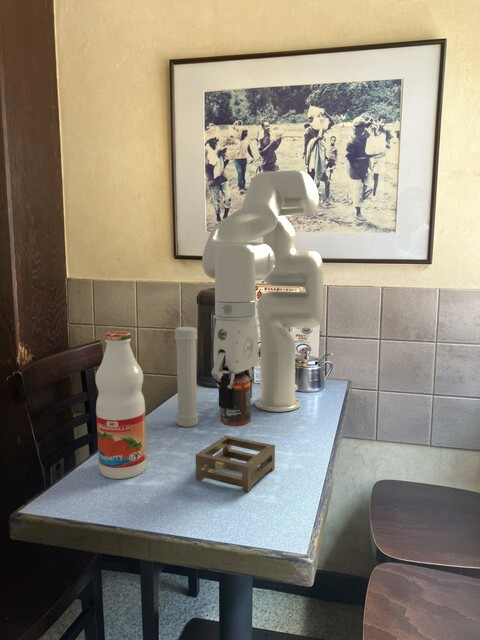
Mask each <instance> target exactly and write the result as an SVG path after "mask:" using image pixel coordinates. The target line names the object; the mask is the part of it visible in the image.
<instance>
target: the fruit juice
mask: <svg viewBox="0 0 480 640" xmlns="http://www.w3.org/2000/svg"><path fill="white" fill-rule="evenodd" d="M131 340H132V334H131V332H130V331H127V330H114V331H113V330H112V331H108V332H106V333H105V334H104V341H105V343H106V347H105V350H104V353H103V354H104V355H103V358H102V360H101V363H100V365H99V367H98V369H97V370H96V372H95V373H96V374H95V384H96V387H97V390H98V396H97V399H96V402H95V403H96V405H95V414H96V429H97V432H96V433H97V452H98V453H97V454H98V468H99V473H100V474H101V475H102V476H104V477H105V478H108V479H113V480H122V479H123V480H125V479H129V478H134V477H136V476H139V475H140V474H142V473H143V472H144V471H145V470H146V469H147V463H148V458H147V456H148V455H147V429H146V427H147V426H146V423H147V422H146V403H145V402H146V401H145V397H144V394H143V392H142V386H143V383H144V373H143V370H142V367H141V366H140V365H139V364H138V362H137V359H136V358H135V355H134V353H133V350H132V347H131V345H130V343H131Z"/></svg>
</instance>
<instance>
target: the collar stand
mask: <svg viewBox="0 0 480 640" xmlns="http://www.w3.org/2000/svg"><path fill="white" fill-rule="evenodd" d="M231 446H232V447H238V448H242V449H247V450H251V451H256V452H257V454H255V453H251V452H245V451H242V450H236V449H232V448H231ZM237 460H238V461H237ZM275 463H276V446H275V445H274V444H271V443H270V444H269V443H266V442H265V443H264V442H260V441H255V440H252V439H251V440H250V439H245V438H240V437H236V436H230V435H224V436H222V437H221V438H219V439H218V440H217V441H215V442H213V443H212V444H210V445H208V446H207V447H205V448H204V449H202V450H201V451H200V452H198V453H196V454H195V480H196V481H203V480H204V479H207V480H212V481H214V482H215V481H216V482H220V483H222V484H223V483H224V484H228V485H230V486H231V485H232V486H235V487H239V488H242V491H241V492H243V493H248V494H249V493H250V492H251V491H252V486H253V485H255V483H256V482H257V481H259V480H260V479H261V478H262V477H263V476H265V475H266V474H267V473H268V472H273V471H275V469H276V464H275ZM214 468H215V469H220V470H228V471H232V472H236V473H241V474H242V475H241V476H240V475H236V474H231V473H228V472H224V471H220V470H215V469H214Z"/></svg>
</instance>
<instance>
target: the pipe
mask: <svg viewBox="0 0 480 640" xmlns="http://www.w3.org/2000/svg"><path fill="white" fill-rule="evenodd" d="M171 306H172V307H174V309H176V310H177V311H178V312H179V313H180V315H181V316H182V319H183V322H184V325H185V326H179V327H176V328H175V330H174V340H175V341H176V370H177V371H176V376H177V377H176V379H177V381H176V382H177V412H176V419H177V420H176V421H177V422H176V423H177V424H178V426H180V427H184V428H186V427H188V428H189V427H194V426H196V425H198V423H199V415H200V413H199V412H198V403H197V402H198V393H197V392H198V390H197V389H198V386H197V345H196V344H197V343H196V342H197V339H198V335H197V333H198V332H197V331H198V329H197V328H196V327H194V326H187V323H186V320H185V317H184V315H183V314H182V312H181V311H180V309H178V307H176V306H175V305H173V304H171Z"/></svg>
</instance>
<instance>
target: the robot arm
mask: <svg viewBox="0 0 480 640" xmlns="http://www.w3.org/2000/svg"><path fill="white" fill-rule="evenodd" d="M318 206H319V191H318V187H317V185H316V184H315V181H314V180H313V178H312V177H311V176H310V175H309V174H308V173H306V172H305V171H302V170H296V169H295V170H294V169H293V170H272V171H262V172H260V173H257V174H255V175H254V176H253V177H252V178H251V180H250V182H249V185H248V187H247V190H246V194H245V196H244V199H243V202H242V204H241V208H239V209H238V210H236V211H234V212H232V213H231V214H229V215H228V216H226V217H224V219H222V220H220V221H219V222H218V223H216V224H215V226H214V227H213V228H212V229H211V231H210V233H209V236H208V238H207V240H206V242H205V246H204V249H203V253H202V256H201V257H202V259H201V263H202V265H201V266H202V269H203V272H204V273H205V275H206V276H207V277H208V278H209V279H213V280H214V302H215V303H214V306H215V307H214V310H215V311H214V313H215V316H214V317H215V325H214V333H213V334H214V336H213V368H212V369H211V376H212V377H213V378H214V381H215V382H216V387H217V388H218V406H219V408H220V407H222V408H228V409H234V408H235V388H232V387H233V382H234V376H235V374H238V373H241V372H243V371H245V374H246V375H247V376H248V377H249V378H250V392H251V399H252V397H253V392H252V391H253V388H252V387H253V383H252V382H253V377H254V372H253V371H254V368H255V367H256V365H257V364H258V363H259V360H260V365H259V366H260V387H259V388H260V390H259V391H260V394H259V395H260V396H258V397H256V399H255V400H254V405H255V407H256V408H258V409H260V410H263V411H265V412H266V411H268V412H277V413H278V412H279V413H281V412H291V411H295V410H297V409H299V408H300V407H301V400H300V399H299V398H298V397H296V391H297V390H298V389H299V387H298V385H297V384H296V342H295V339H294V337H293V335H292V334H291V332H290V331H289V330H288V328H302V329H313V328H317V327H318V326H320V325H321V323H322V320H323V313H324V312H323V311H324V264H323V263H324V262H323V260H322V256H321V255H320V254H319V252H316V251H312V250H296V231H295V228H294V227H293V225H292V224H291V222H290V221H289V220H288V219H287V217H310V216H312V215H314V214H315V212H316V211H317V209H318ZM259 238H262V242H258V241H257V242H256V241H255V242H254V240H257V239H259ZM251 241H252V242H251ZM262 280H264V282H265V283H266V284H267V285H269V286H273V287H289V288H291V287H293V288H295V287H296V288H300V287H301V288H303V289H304V290H305V291H284V290H283V291H282V290H280V291H278V290H276V291H275V290H274V291H267V292H264V293H262V294H261V295H260V296H259V297H258V300H257V302H256V281H262ZM256 304H257V305H256ZM256 306H257V307H256ZM256 311H257V317H258V325H259V331H260V332H258V325H257V318H256ZM258 335H259V336H260V338H259V336H258ZM259 339H260V340H259ZM259 341H260V346H259ZM259 347H260V349H259ZM259 350H260V353H259ZM259 354H260V355H259ZM259 356H260V357H259ZM225 368H228V369H229V371H226V370H225ZM224 374H228V375H229V378H228V379H227V378H226V376H224Z"/></svg>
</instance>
